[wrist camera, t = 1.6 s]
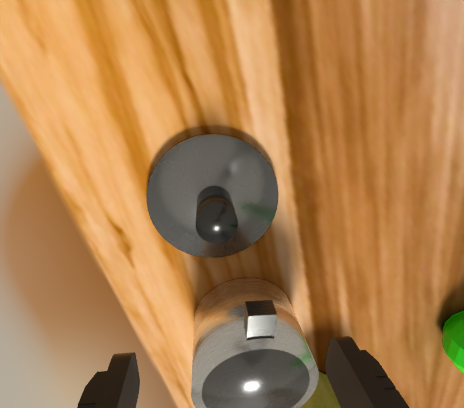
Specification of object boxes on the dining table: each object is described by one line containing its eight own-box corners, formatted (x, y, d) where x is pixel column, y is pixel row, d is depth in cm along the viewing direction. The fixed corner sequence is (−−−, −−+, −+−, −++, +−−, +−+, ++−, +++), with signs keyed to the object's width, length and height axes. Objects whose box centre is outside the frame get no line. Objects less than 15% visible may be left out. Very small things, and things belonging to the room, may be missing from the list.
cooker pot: (192, 260, 29) (188, 323, 21) (299, 256, 31) (334, 314, 23) (196, 396, 39) (194, 477, 30) (278, 388, 40) (298, 464, 32)
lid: (142, 131, 24) (122, 141, 18) (281, 134, 25) (305, 144, 19) (154, 253, 29) (142, 293, 23) (269, 249, 31) (285, 285, 25)
